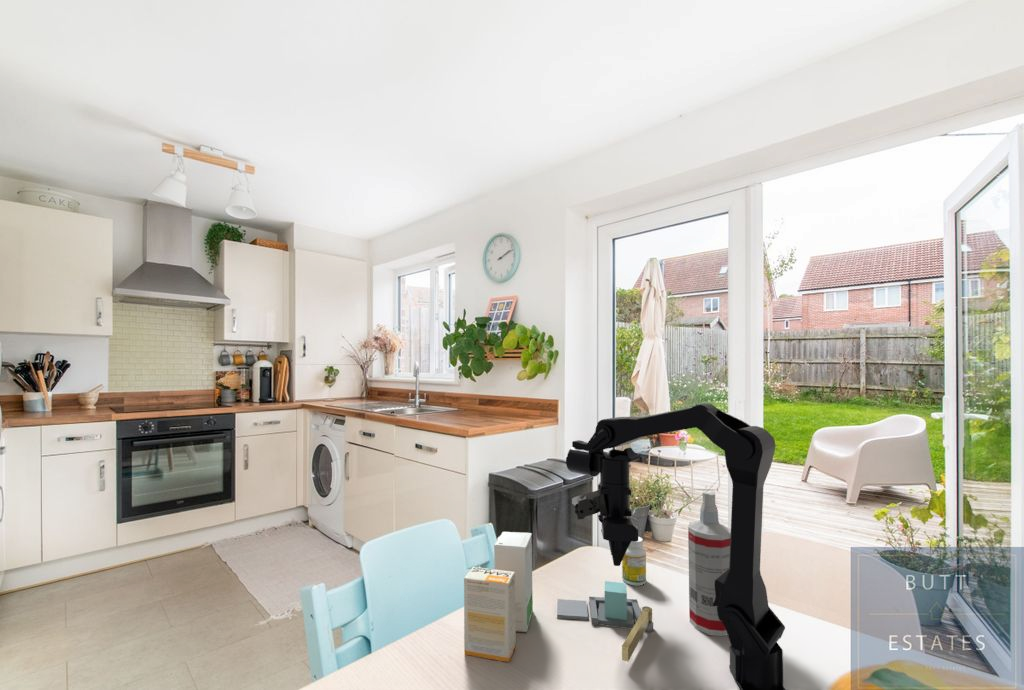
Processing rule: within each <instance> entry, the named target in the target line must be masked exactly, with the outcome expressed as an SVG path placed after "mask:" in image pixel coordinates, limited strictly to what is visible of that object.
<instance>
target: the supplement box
mask: <svg viewBox="0 0 1024 690" xmlns="http://www.w3.org/2000/svg"><path fill="white" fill-rule="evenodd" d="M463 603H464V604H463V606H464V608H463V613H464V614H463V616H464V619H463V622H464V623H463V624H464V625H463V626H464V627H463V630H464V631H463V633H464V634H463V635H464V636H463V641H464V645H463V646H464V649H463V650H464V652H463V653H464V655H466V656H467V655H468V656H473V657H476V658H477V657H478V658H484V659H490V660H495V661H500V662H507V663H508V662H509V663H510V661H511V657H512V655H513V653H514V650H515V648H516V645H517V644H516V631H515V572H512V571H503V570H495V568H494V569H493V568H487V567H486V568H485V567H479V566H472V568H471V569H470V570H469V571H468V572H467V574H466V575H465V576H464V578H463Z"/></svg>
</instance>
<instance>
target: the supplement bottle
mask: <svg viewBox="0 0 1024 690" xmlns="http://www.w3.org/2000/svg"><path fill="white" fill-rule="evenodd" d="M643 542H644V540H643V538H642V537H640V536H638V541H636V542H632V541H631V543H630V545H629V547H628V549H627V551H626V553H625V555H624V557H623V560H622V562H621V565H622V566H621V570H622V571H621V575H622V580H623V582H624V583H626V585H630V586H636V587H637V586H638V587H639V586H640V585H641V586H644V585H645V584H646V583H647V551H646V549H645V548H644V547H643V546H644V543H643ZM643 584H644V585H643Z"/></svg>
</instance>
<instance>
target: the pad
mask: <svg viewBox="0 0 1024 690" xmlns="http://www.w3.org/2000/svg"><path fill="white" fill-rule="evenodd" d="M556 606H557V609H556V612H557V613H556V618H557V619H567V620H569V619H570V620H581V621H582V620H584V621H588V620H589V614H588V603H587V600H580V599H566V598H565V599H563V598H561V599H560V598H557V604H556Z"/></svg>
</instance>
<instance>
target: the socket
mask: <svg viewBox="0 0 1024 690" xmlns="http://www.w3.org/2000/svg"><path fill="white" fill-rule="evenodd" d="M599 602H601V603H605V596H604V597H600V596H589V597H588V605H589V613H590V614H589V615H590V623H591V625H594V626H595V625H596V626H598V608H597V607H599ZM627 606H632V609H633V618H634V620H636V621H635V623H636V622H637V620H638V618H639V617H640V615H641V613H642V610H641V608H640V605H639V602H638V599H636V598H635V599H633V598H627ZM653 631H654V622H653V621H652V623H650V624H648V626H647V628H646V630H645V632H647V633H651V632H653Z"/></svg>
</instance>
